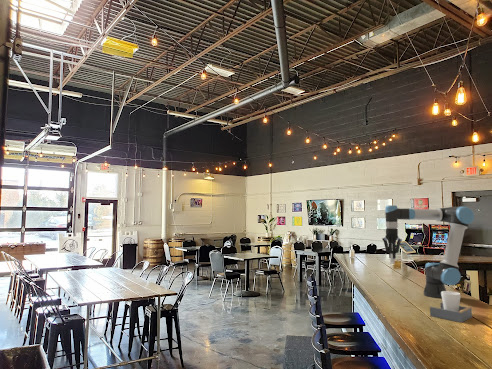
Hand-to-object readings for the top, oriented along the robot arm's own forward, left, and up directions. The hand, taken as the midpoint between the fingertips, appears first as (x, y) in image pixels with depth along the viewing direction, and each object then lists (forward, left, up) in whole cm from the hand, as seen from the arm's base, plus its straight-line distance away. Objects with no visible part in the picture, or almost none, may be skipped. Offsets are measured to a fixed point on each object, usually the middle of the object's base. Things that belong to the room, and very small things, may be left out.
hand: (392, 263), depth 242 cm
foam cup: (+11, +39, -25) cm, 48 cm away
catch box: (+12, +39, -24) cm, 48 cm away
